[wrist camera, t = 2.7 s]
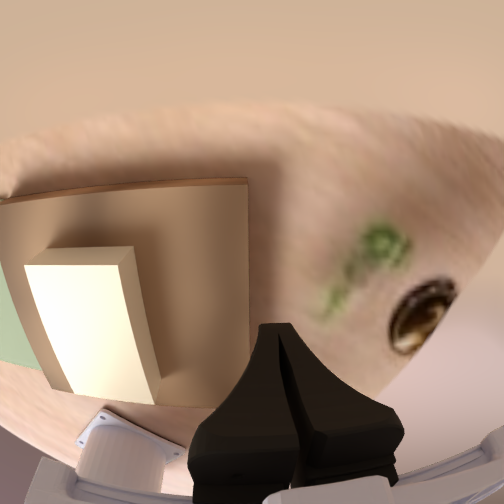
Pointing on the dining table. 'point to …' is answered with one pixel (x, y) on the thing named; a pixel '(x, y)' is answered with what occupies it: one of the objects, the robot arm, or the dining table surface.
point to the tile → (96, 321)
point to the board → (151, 272)
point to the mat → (13, 332)
